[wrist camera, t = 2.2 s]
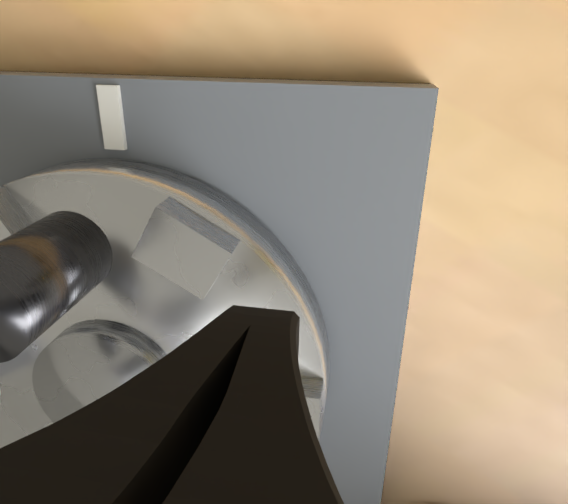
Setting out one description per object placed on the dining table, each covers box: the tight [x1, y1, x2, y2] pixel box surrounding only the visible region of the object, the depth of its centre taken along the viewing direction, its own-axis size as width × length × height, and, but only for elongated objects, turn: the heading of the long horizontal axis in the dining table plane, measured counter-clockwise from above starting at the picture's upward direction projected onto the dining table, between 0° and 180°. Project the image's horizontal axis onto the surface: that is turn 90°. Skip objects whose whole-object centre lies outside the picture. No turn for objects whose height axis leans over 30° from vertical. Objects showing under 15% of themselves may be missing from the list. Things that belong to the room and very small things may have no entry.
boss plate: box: [0, 71, 439, 504], centre depth 20 cm, size 20×20×2 cm
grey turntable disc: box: [0, 159, 330, 448], centre depth 16 cm, size 15×15×7 cm
